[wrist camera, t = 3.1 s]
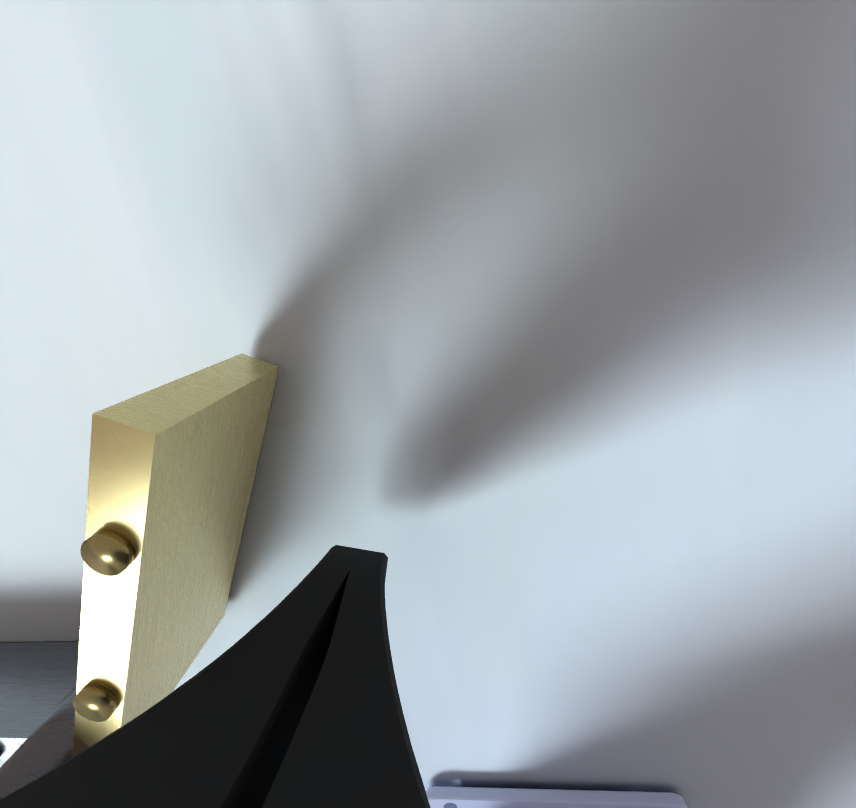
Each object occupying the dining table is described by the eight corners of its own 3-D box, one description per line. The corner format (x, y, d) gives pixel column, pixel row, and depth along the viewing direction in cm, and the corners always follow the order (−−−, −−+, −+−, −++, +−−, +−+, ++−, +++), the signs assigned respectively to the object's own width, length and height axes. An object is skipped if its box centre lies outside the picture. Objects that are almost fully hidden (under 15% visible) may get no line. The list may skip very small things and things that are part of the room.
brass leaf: (223, 615, 14) (107, 786, 9) (195, 605, 13) (64, 773, 9) (279, 366, 11) (146, 440, 6) (241, 354, 10) (80, 418, 6)
